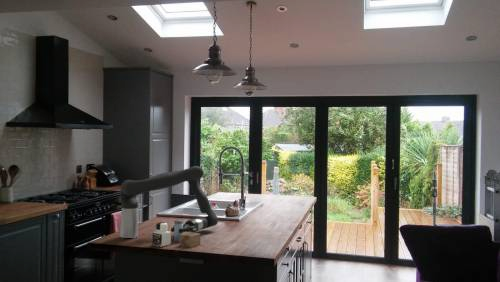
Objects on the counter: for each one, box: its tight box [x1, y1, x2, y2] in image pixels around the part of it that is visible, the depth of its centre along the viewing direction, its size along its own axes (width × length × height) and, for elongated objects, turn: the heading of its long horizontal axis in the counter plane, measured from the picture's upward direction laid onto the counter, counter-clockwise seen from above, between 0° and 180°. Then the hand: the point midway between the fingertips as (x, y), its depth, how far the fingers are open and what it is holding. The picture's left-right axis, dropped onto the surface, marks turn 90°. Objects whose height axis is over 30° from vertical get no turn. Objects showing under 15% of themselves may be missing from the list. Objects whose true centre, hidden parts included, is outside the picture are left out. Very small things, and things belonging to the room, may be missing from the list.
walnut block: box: [178, 232, 201, 248], centre depth 230 cm, size 8×8×6 cm
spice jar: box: [173, 219, 184, 242], centre depth 240 cm, size 5×5×11 cm
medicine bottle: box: [151, 221, 172, 248], centre depth 229 cm, size 7×7×12 cm
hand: (175, 230), depth 238 cm, fingers closed on spice jar, 5 cm apart
